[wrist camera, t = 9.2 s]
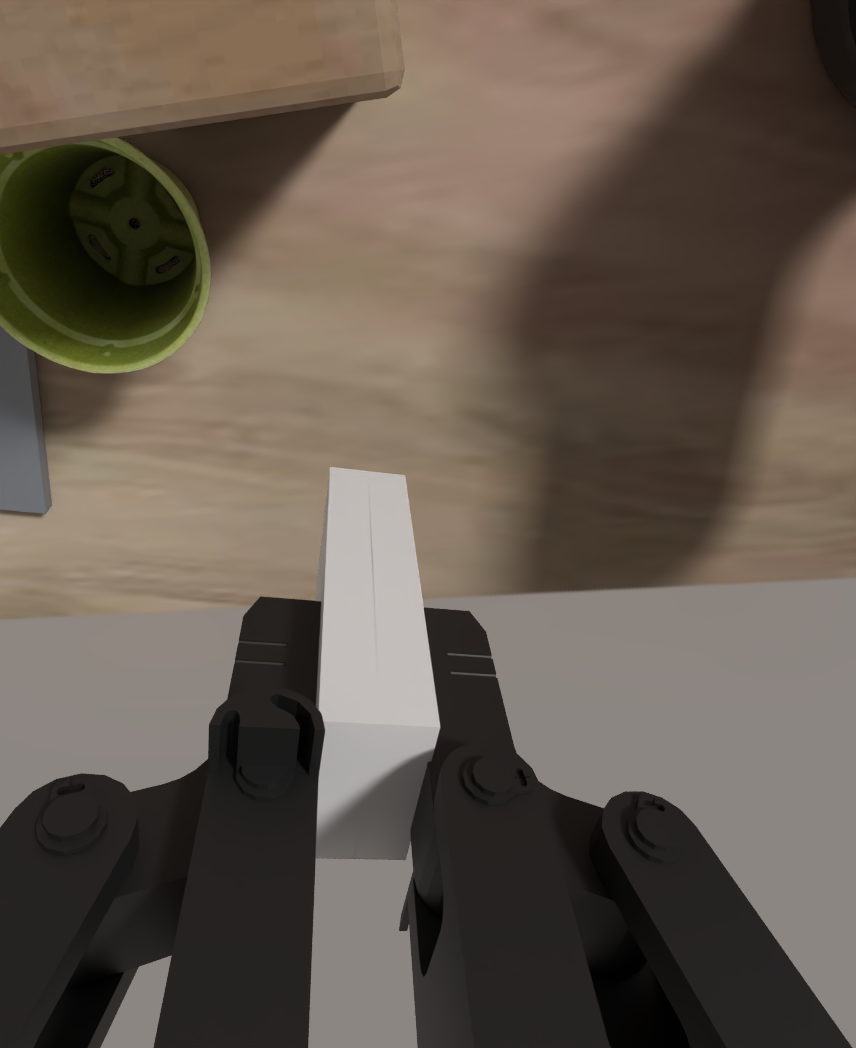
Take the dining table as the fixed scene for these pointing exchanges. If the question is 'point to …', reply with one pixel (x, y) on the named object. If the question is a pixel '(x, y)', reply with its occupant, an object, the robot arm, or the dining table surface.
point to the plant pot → (99, 256)
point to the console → (21, 431)
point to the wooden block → (184, 63)
